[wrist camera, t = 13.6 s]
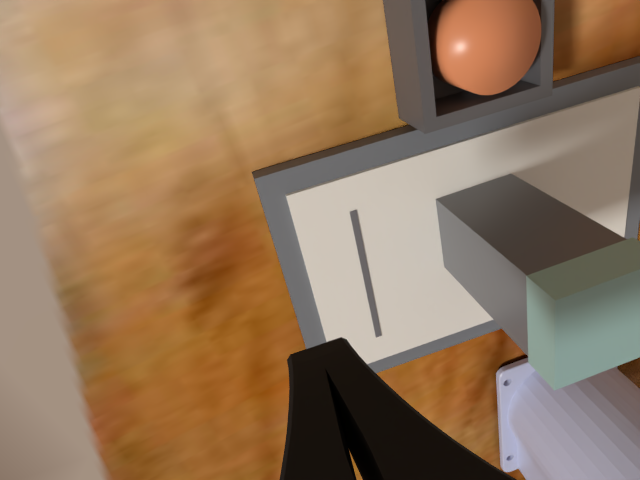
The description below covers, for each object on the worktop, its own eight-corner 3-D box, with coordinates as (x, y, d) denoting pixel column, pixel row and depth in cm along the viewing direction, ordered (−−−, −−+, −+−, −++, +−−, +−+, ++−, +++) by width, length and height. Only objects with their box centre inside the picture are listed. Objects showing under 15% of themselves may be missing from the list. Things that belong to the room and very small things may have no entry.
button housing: (513, 84, 21) (552, 95, 19) (399, 118, 20) (425, 134, 18) (511, -57, 18) (555, -63, 16) (380, -23, 18) (407, -24, 15)
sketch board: (620, 274, 28) (635, 284, 27) (316, 382, 26) (321, 396, 25) (645, 54, 22) (665, 57, 21) (251, 172, 20) (255, 181, 19)
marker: (515, 243, 23) (656, 350, 16) (442, 269, 23) (554, 390, 16) (513, 170, 21) (670, 258, 15) (433, 197, 21) (555, 300, 14)
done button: (508, 72, 19) (541, 80, 17) (428, 95, 19) (453, 106, 17) (506, -25, 18) (541, -26, 16) (418, -1, 17) (444, 0, 15)
